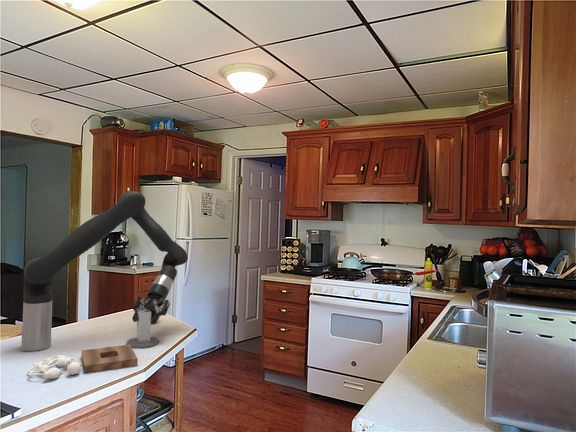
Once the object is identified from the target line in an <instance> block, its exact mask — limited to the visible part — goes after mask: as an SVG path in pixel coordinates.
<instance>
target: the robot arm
mask: <svg viewBox="0 0 576 432" xmlns="http://www.w3.org/2000/svg"><path fill="white" fill-rule="evenodd" d="M145 206H146V197H145V195H144V194H142V193H140V192H138V191H134V190H132V191H125V192H123V193H121V195H120V196H119V198H118V201H117V203H115V204H114V205H113V206H111V207H110V208H109V209H108V210H105V211H103V212H102V213H100V214H97V215H95V216H94V217H92V218H90V219H88V220H87V221H85V222H84V223H81V225H79V226H77V228H75V229H74V230H73V231H72V232H70V234H68V235H67V236H66V237H65V239H63V240H62V241H61V242H60V243H59V244H58V245H57V246H56V247H55V248H54V249H52V250H51V251H49V252H47V253H46V254H44V255H42V256H41V257H35V258H32V259H30V260H29V261H28V262H27V263H26V264H25V265H24V269H23V291H22V292H23V304H22V324H21V343H20V345H21V346H20V347H21V348H20V349H21V350H20V351H21V352H35V351H37V352H38V351H42V350H45V349H48V348H50V347H51V346H52V324H53V323H52V321H53V319H52V318H53V296H54V295H53V278H54V277H55V276H56V275H57V274H58V273H60V271H61V270H62V269H64V268H65V267H66V266H67V265H68V264H70V263H71V262H72V261H73V260H75V259H77V258H78V257H80V256H82V255H83V254H85V253H86V252H87V251H88V250H90V249H91V248H93V247H94V246H96V245H97V244H99V242H101V241H102V240H103V239H105V238H106V237H107V236H108V235H109V234H110V233H112V232H113V231H115V229H116V228H118V227H119V226H120V225H121V224H123V223H124V222H126V221H127V220H129V219H130V218H132V220H134V222H135V223H136V224H137V225H138V226H139V227H140V228H141V229H142V231H143V232H144V233H145V234H146V235H147V237H148V238H149V240H150V241H151V242H152V243H153V245H155V247H156V248H157V249H158V250H159V251H160V252H163V253H164V252H166V254H165V256H164V257H163V261H162V265H161V268H160V271H159V273H158V275H156V277H155V279H154V281H153V282H152V284H151V286H150V288H149V291H148V292H147V296H146V297H145V298H142V297H141V296H139V297H138V298H137V300H136V301H135V302H134V304H133V306H132V310H133V311H134V314H133V316H132V321H133V322H134V323H137V313H138V310H147V309H149V310H156V313H155V315H154V317H153V319H152V321H151V322H152V324H151V325H156V324H157V323H158V321H159V319H160V317H161V316H166V314H167V312H168V310H169V308H170V306H171V302H170V301H169V299H167V297H168V295H169V293H170V291H171V288H172V286H173V283H174V281H175V279H176V277H177V274H178V270H177V268H176V267H177V266H181V265H184V264H186V262H187V261H188V253H187V251H186V250H185V249H184V248H183V247H182V246H181V245H180V244H178V243H177V242H176V241H174V240H173V239H172V238H171V237H170V235H169V234H168V233H167V231H166V230H165V229H164V228H163V227H162V225H160V224H159V223H158V222H157V221H156V220H155V219H154V218H153V217H152V216H151V215H150V214H149V212H148V211H147V210H146V208H145ZM143 302H144V303H143ZM144 306H145V308H144Z"/></svg>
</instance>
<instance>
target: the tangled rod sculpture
mask: <svg viewBox="0 0 576 432" xmlns="http://www.w3.org/2000/svg"><path fill="white" fill-rule="evenodd" d="M55 366H57V367H55ZM64 367H66V371H67V373H68V375H72V376H75V375H77V374H78V373H79V372H80V371H81V367H83V363H79V362H77V361H75V358H71V357H69V356H67V355H63V354H58V355H55V356H52V357H50V358H49V357H47V358H45V359H44V360H41V361H38V362H35V363H32V367H31V368H29V369H28V370H27V372H28V376H30V377H33V376H43V377H44V378H46V379H51V380H56V379H58V378H59V376H60V375H63V374H64V372H63V371H61V370H60V369H59V368H64ZM35 368H36V369H35Z"/></svg>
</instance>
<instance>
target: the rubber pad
mask: <svg viewBox="0 0 576 432" xmlns="http://www.w3.org/2000/svg"><path fill="white" fill-rule="evenodd" d="M159 343H160V339H158V338H156V337H153V336H150V342H149V343H141V344H138V342H137V337H133V338H130V339H129V340H127V341H126V345H129V344H130V346H131V347H132V349H136V348H142V349H148V348H149V349H150V348H152V347H153V348H154V347H156V346H157V345H159Z"/></svg>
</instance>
